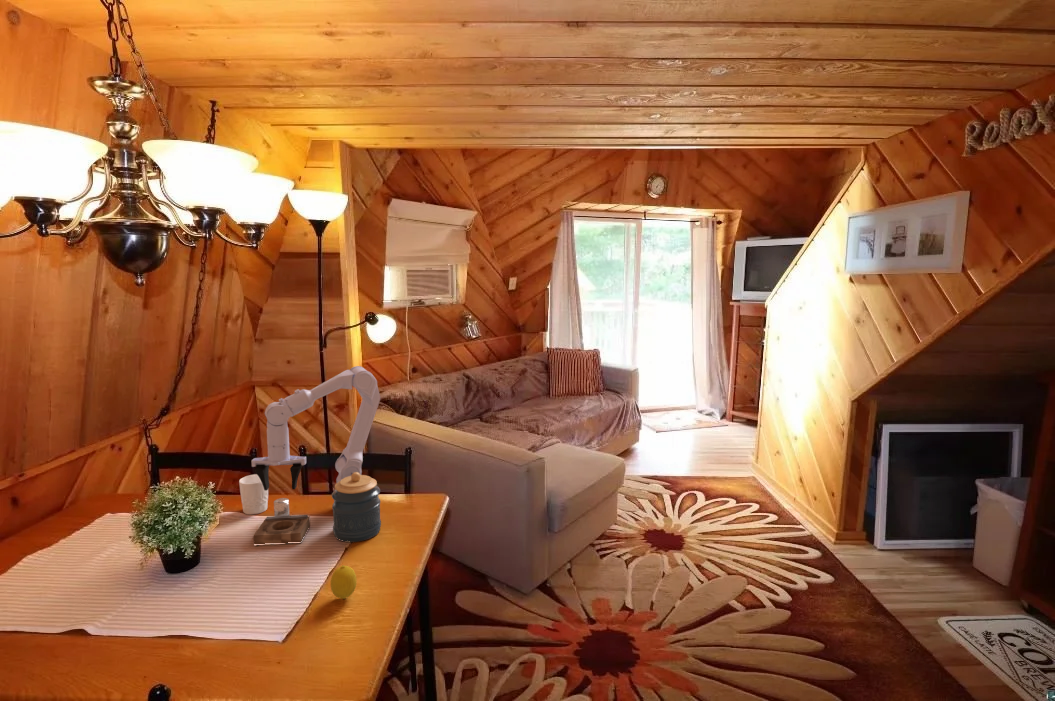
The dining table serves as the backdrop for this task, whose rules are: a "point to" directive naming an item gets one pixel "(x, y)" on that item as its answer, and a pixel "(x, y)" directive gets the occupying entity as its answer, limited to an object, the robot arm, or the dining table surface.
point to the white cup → (253, 495)
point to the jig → (282, 529)
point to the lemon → (343, 582)
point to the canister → (356, 508)
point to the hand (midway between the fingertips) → (280, 488)
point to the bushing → (281, 507)
